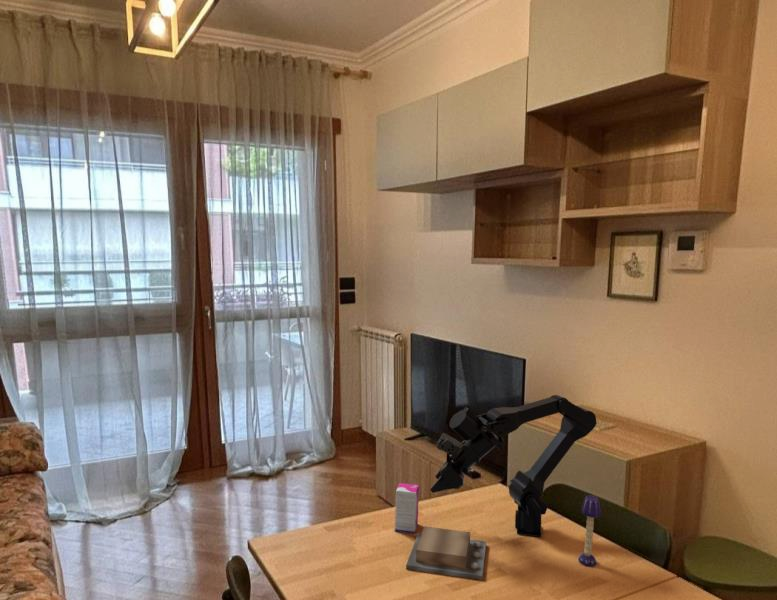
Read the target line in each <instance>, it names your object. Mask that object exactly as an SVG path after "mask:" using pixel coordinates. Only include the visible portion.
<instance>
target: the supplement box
mask: <svg viewBox="0 0 777 600" xmlns="http://www.w3.org/2000/svg"><path fill="white" fill-rule="evenodd" d="M419 494H420V485H419V484H411V483H402V482H400V483H398V486H397V488H396V490H395V514H394V515H395V516H394V519H395V520H394V532H397V531H398V532H399V533H407V534H415V533H416V530H417V527H418V523H419V519H418V518H419V500H420V499H419V497H420V496H419ZM398 532H397V533H398Z"/></svg>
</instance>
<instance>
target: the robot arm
mask: <svg viewBox="0 0 777 600" xmlns="http://www.w3.org/2000/svg"><path fill="white" fill-rule="evenodd" d="M555 414H560V415H561V416H562V418H561V423H560V428H559V431H558V432H557V433H556V434H555V436H554V437H553V439H552V440H551V441H550V443H549V444H547V447H546V448H545V449H544V450H543V452H542V453H541V454H540V455H539V457H538V458H537V460H535V462H534V464H533V465H532V466H531V467H530V469H528V470H527V471H525V472H522V471H521V470H518V471H517V472H516V474H515V475H514V477H513V478H512V479H511V480H510V481H509V482H510V484H509V485H508V493H509V497H511V499H513V502H514V504H516V505H517V509H515V515H514V516H515V517H514V518H515V519H514V524H515V525H514V529H515V530H516V534H517V535H524V536H530V537H531V536H532V537H542V536H543V534H542V516H543V515H546V513H547V510H548V506H547V505H546V504H545V503H544V502H543V501H542V500H541V498H542V497H543V495H544V488H545V482H546V481H547V480H548V478H549V477H550V476H551V474H552V473H553V472H554V470H555V469H556V467H558V465H559V464H560V463H561V461H562V460H563V458H564V457H565V455H566V454H567V453H568V452H569V450H570V449H571V448H572V446H573V445H574V443H576V442H577V441H579V440H581V439H583V438H584V437H587V436H588V435H589V434H590V433H591V432H592V431H593V430H594V429H595V428H596V426H597V416H596V414H595V413H594V412H593V411H592V410H589V409H586V408H583V407H581V406H579V405H576V404H574V403H572V402H571V401H570V400H568V399H567V398H566V397H563V396H561V395H559V394H554V395H551V396H549V397H545V398H543V399H540V400H536V401H532V402H530V403H526V404H522V405H519V406H515V407H511V406H510V407H508V406H507V407H505V406H502V407H494V408H491V409H489V410H487V412H486V413H483V414H479V415H476V414H475V413H474V412H473V410H471V409H470V408H468V407H467V406H465V407H464V408H463V409H462V410H459V411H458V412H456V413H454V414H453V415H452V417H451V419H449V420H450V421H449V424H448V425H449V427H450V428H451V430H453V431H454V432H455V433H457V435H459V436H460V437H461V439H463V440H462V442H460V441H459V440H457V439H456V437H455V438H454V437H453V436H451V435H449V434H447V433H445V432H442V433H441V436H440V437H439V439H438V441H437V443H436V446H435V447H436V449H438V450H439V451H442V452H445V453H446V461H444V463H443V464H442V466H441V467H440V469H439V470H438V472H437V473H436V475H435V478H436V482H434V483H433V484H432V486H431V487H430V489H429V490H430V492H431V493H432V494H434V493H438V492H443V491H447V490H453V489H455V490H459V489H461V487H463V485H464V483H465V475H466V474H467V473H469V471H470V469H471V468H472V467H473V466H474V465H475V464H477V465H478V464H479V463H480V462H481V459H482V458H484V457H485V456H486V455H488V454H489V453H490V452H491V450H493V449H494V448H497V449H499V450H500V451H501V452H502V451H503V450H504V439H503V436H506V435H510V434H511V433H513V432H515V431H517V430H518V429H519V428H520V426H523V425H524V424H527V423H529V422H532V421H536V420H539V419H542V418H545V417H549V416H551V415H555ZM494 432H495V433H496V434H498V435H501V436H497V435H496V434H495V433H494Z"/></svg>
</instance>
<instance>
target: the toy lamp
mask: <svg viewBox="0 0 777 600" xmlns="http://www.w3.org/2000/svg"><path fill="white" fill-rule="evenodd" d="M601 511H602V509H601V505H600V500H599V498H598V497H597V496H596V495H592V494H588V495H585V497H584V499H583V502H582V505H581V507H580V512H581V514H583V516H586V518H587V519H586V522H585V523H586V526H585V537H584V541H585V542H584V551H583V553H581V554H579V556H578V559H577V560H578V562H579V564H581V565H582V566H585V567H589V568H591V567H596V565H598V563H597V559H596V557H595V556H594V555H593V554H592V549H593V537H594V532H593V531H594V524H595V522H594V519H595V518H598V517H601V515H602V512H601Z"/></svg>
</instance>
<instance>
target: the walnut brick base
mask: <svg viewBox="0 0 777 600" xmlns="http://www.w3.org/2000/svg"><path fill="white" fill-rule="evenodd" d="M486 549H487V541H483V540H479V539H478V540H477V539H471V532H470V531H465V530H455V529H448V528H442V527H441V528H438V527H432V526H424V527H423V529H422V532H418V533H417V535H416V538H415V540H414V544H413V546H412V548H411V550H410V554H409V556H408V559H407V562H406V564H405V569H406V570H411V571H418V572H424V573H430V574H431V573H432V574H437V575H442V576H443V575H444V576H445V575H446V576H449V577H451V576H452V577H458V578H466V579H473V580H477V581H478V580H479V581H482V580H483V577H484V576H483V575H484V566H485V559H486V551H487V550H486Z"/></svg>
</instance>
